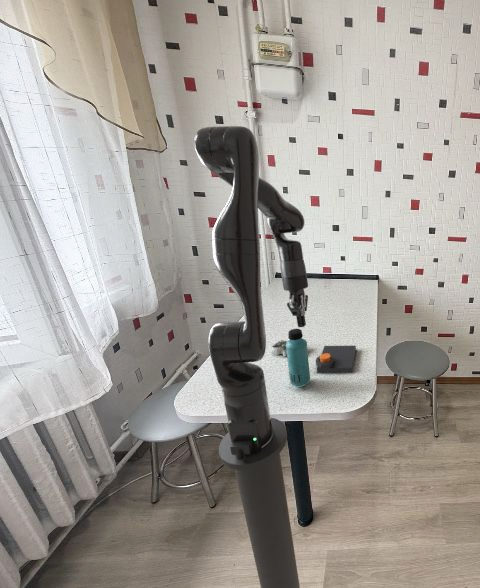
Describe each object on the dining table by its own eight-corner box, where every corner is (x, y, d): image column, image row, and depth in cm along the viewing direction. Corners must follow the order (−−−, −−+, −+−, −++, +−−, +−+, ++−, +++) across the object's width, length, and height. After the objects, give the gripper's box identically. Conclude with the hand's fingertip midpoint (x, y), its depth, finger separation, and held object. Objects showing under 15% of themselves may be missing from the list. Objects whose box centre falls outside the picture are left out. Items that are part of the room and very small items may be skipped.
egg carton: (307, 349, 128) (306, 340, 126) (295, 360, 121) (294, 350, 119) (283, 344, 130) (282, 335, 129) (270, 354, 124) (269, 344, 122)
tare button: (329, 363, 115) (329, 358, 114) (319, 363, 114) (318, 358, 114) (331, 357, 118) (331, 353, 117) (321, 357, 118) (320, 353, 117)
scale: (352, 372, 115) (351, 364, 114) (314, 373, 114) (314, 364, 113) (355, 349, 129) (355, 341, 128) (322, 349, 128) (322, 342, 127)
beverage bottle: (310, 377, 112) (305, 324, 104) (312, 388, 106) (307, 334, 99) (289, 380, 110) (283, 327, 102) (290, 393, 104) (283, 337, 96)
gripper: (290, 272, 111) (297, 321, 114) (273, 278, 98) (282, 333, 101) (312, 270, 111) (319, 320, 114) (298, 276, 98) (306, 331, 101)
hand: (302, 326), depth 108 cm, fingers closed
